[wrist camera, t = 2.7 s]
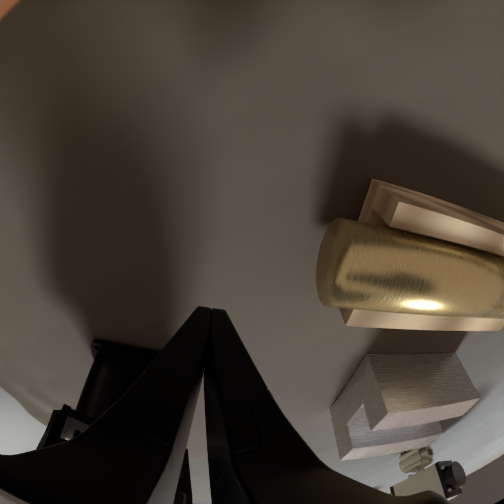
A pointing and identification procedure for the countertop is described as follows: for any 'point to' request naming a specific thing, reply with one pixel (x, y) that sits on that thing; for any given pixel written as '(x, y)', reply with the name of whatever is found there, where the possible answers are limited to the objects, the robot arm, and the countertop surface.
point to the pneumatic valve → (429, 475)
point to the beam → (433, 226)
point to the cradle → (399, 403)
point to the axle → (406, 273)
